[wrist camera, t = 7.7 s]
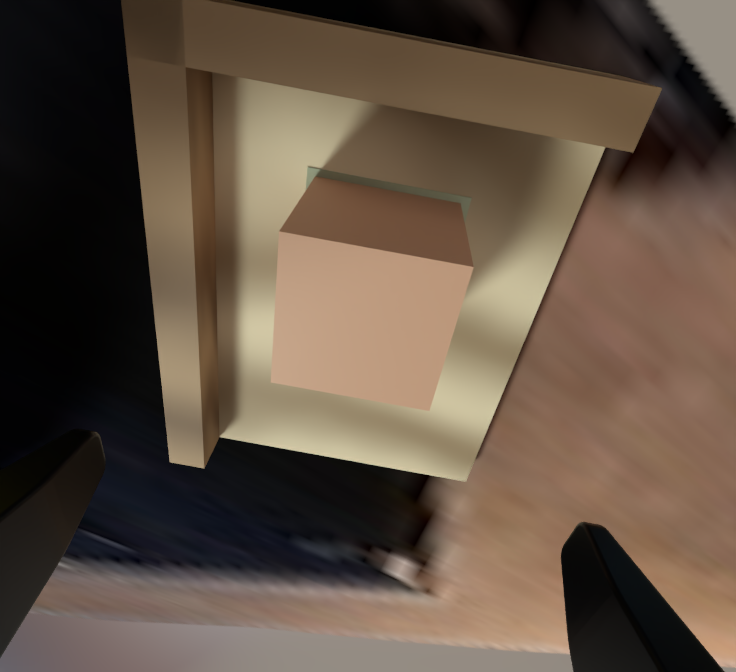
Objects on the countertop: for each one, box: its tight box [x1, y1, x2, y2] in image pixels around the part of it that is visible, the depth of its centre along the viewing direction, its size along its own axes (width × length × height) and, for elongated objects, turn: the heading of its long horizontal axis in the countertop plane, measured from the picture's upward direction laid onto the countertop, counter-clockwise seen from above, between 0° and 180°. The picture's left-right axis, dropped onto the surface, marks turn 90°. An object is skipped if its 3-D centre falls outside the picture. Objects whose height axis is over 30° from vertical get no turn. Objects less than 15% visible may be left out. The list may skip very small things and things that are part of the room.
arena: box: [121, 0, 662, 482], centre depth 19 cm, size 18×14×3 cm
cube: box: [271, 176, 474, 411], centre depth 16 cm, size 5×5×5 cm
